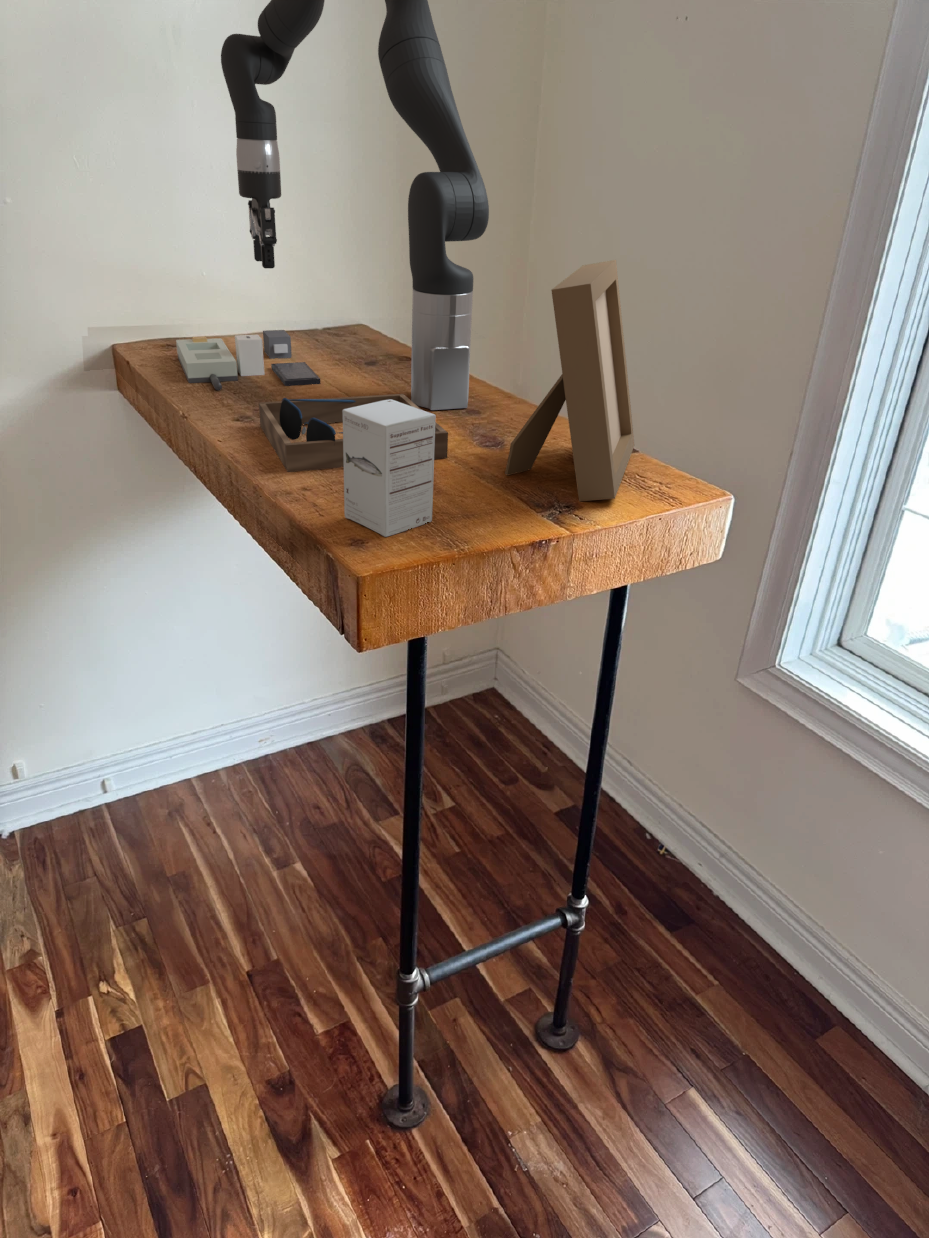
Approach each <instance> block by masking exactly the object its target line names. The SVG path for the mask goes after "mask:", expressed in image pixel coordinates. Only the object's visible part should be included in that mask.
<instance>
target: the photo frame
mask: <svg viewBox="0 0 929 1238" xmlns="http://www.w3.org/2000/svg"><path fill="white" fill-rule="evenodd" d="M550 291H551V297H552V305H553V312H554V320H555V327H556V336H557V342H558V351H559V359H560V365H561V375H560V376H559V377H558V379H557V380H556V382H555V383H554V384H553V386H552V387H551V388H550V390H549V391H548V393H546V395H545V397H544V398H543V399H542V401H541V402H540V403H539V404H538V406H537V407H536V409H535V410H534V411H533V413H532V414H531V416H530V417H529V418H528V420H526V422H525V424H524V425H523V426H522V428H521V429H520V431H518V433H517V435H516V436H515V437H514V438H513V440H512V441H511V443H510V448H509V452H508V458H507V460H506V461H507V463H506V467H505V471H504V474H505V476H510V475H515V474H519V473H521V472H526V471H529V470H530V471H531V469H532V468H533V466H534V464H535V463H536V459H538V456H539V455H540V452H541V451H542V448H543V447H544V444H545V442H546V441H547V438H548V436H549V434H550V432H551V430H552V429H553V426H554V424H555V422H556V420H557V419H558V416H559V414H560V412H561V410H562V408H563V406H564V405H565V404H566V413H567V418H568V419H567V420H568V426H569V427H568V428H569V435H570V440H571V441H570V442H571V450H572V457H573V464H574V471H575V472H574V473H575V480H576V487H577V488H576V490H577V495H578V502H585V501H587V502H588V501H601V500H612V499H613V500H614V499H616V496H617V494H618V491H619V488H620V485H621V483H622V480H623V477H624V476H625V472H626V469H627V467H628V465H629V462H630V458H631V456H632V453H633V450H634V447H635V435H634V427H633V426H634V425H633V418H632V415H633V414H632V405H631V398H630V396H631V395H630V386H629V376H628V367H627V355H626V347H625V337H624V327H623V326H624V325H623V316H622V308H621V306H622V305H621V296H620V287H619V275H618V266H617V259H612V260H605V261H600V262H595V263H588V264H583V265H581V266H580V267H578V268H577V269H576V270H575V271H574V272H571V274H569V275H568V276H567V277H566V278H564V279H563V280H562V281H561V282H559V283H558V284H557V285H556V286H554V287H553V288H552V289H551V290H550Z"/></svg>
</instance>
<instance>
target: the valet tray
mask: <svg viewBox="0 0 929 1238" xmlns="http://www.w3.org/2000/svg"><path fill="white" fill-rule="evenodd" d="M325 399H336V400H354V401H356V402H310V401H291V402H292V403H293V404H294V405H296V406H297V407H298V408H299V409H300V411H301V414H302V419H301V420H302V424H304V423H305V422H307V423H308V422H309V420H310V419H311V418H316V419H319V420H321V421H323V422H325V423H328V424H336V423H335V422H342V423H343V412H342V411H343V410H344V409H347V408H351V407H356V406H360V405H365V404H369V403H374V402H378V401H383V400H389V399H392V400H395V401H398V402H400V403H403V404H406V405H409V406H412V407H415V408H417V409H420V410H422V409H421V408H420V406H418V405H415V404H414V403H413V402H412V401H411V398H409V397H408V396H407V395H405V394H404V393H393V394H377V395H376V394H375V395H363V396H362V395H360V396H346V397H345V396H344V397H343V396H342V397H331V398H330V397H329V398H325ZM281 403H282V400H280V401H278V400H277V401H264V402H258V411H259V425H260V428H261V430H262V432H263V433H264V435H265V437H266V438H267V441H269V443H270V445H271V447H272V448H273V450H274V451H275V453H276V455H277V457H278V458H279V460H280V462H281V463H282V465H283V467H284V468H285V470H286V472H287V473H290V472H293V473H294V472H302V471H303V472H304V471H313V470H315V471H316V470H325V469H337V468H344V459H343V438H338V439H337V438H335V441H332V440H322V441H309V442H307V441H298V442H291V439H290V438H288V437H287V436H286V434H285V433H284V431H283V430H282V428H281V425H280V407H281ZM312 420H313V419H312ZM307 423H306V424H307ZM334 444H335V445H334ZM448 446H449V432H448V431H446V429H444V428H443V427H442V426H441V425H440V424H438V423H437V421H435V446H434V460H438V459H439V460H441V459H448V452H449V451H448V449H449V448H448Z"/></svg>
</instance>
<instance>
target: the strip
mask: <svg viewBox="0 0 929 1238" xmlns="http://www.w3.org/2000/svg"><path fill="white" fill-rule="evenodd" d="M175 342H176V343H175V344H176V345H175V346H176V353H177V358H178V361H179V364H180V365H181V368H182V370H183V372H184V375H185V378H186V380H187V382H188V384H197V383H211V384H212V386H213V387H214V388H213V389H214V390H216V391H221V390H222V388H223V385H222V384H221V382H235V381H239V378H238V376H239V375H238V370H237V359H236V358H235V357H234V355H233V354H232V352H231V351H230V349H229V348H228V346H227V344H226V343H225V342H224V340H223V339H222V337H221V338H215V337H214V338H207V336H206V335H205V336H192V337H191V338H188V339H175Z"/></svg>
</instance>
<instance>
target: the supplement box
mask: <svg viewBox="0 0 929 1238" xmlns="http://www.w3.org/2000/svg"><path fill="white" fill-rule="evenodd" d="M420 409H421V408H420ZM420 409H417V408H415V407H412V406H409V405H406V404H403V403H400V402H398V401H395V400H392V399H389V400H383V401H378V402H374V403H369V404H365V405H360V406H356V407H351V408H347V409H344V410H343V411H342V412H343V422H342V432H343V434H342V439H343V459H344V467H343V499H344V501H343V502H344V503H343V504H344V505H343V506H344V507H343V509H344V510H343V511H344V518H345V519H348V520H351V521H353V522H355V523H357V524H359V525H361V526H364V527H366V528H368V529H369V530H372V531H374V532H376V533H378V534H380V535H381V536H382V537H384V538H388V537H390V536H393V535H397V534H399V533H403V532H406V531H408V529H409V530H411V528H412V529H414V528H417V527H418V528H419V527H420V526H423V525H426V524H428V523H427V522H429V523H431V522H432V521H433V503H434V502H433V499H434V497H433V496H434V479H435V478H434V475H435V473H434V472H435V471H434V470H435V469H434V467H435V459H434V446H435V422H436V419H437V417H436V414H434V413H431V412H429V411H425V410H423V409H421V410H420ZM425 523H426V524H425Z"/></svg>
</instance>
